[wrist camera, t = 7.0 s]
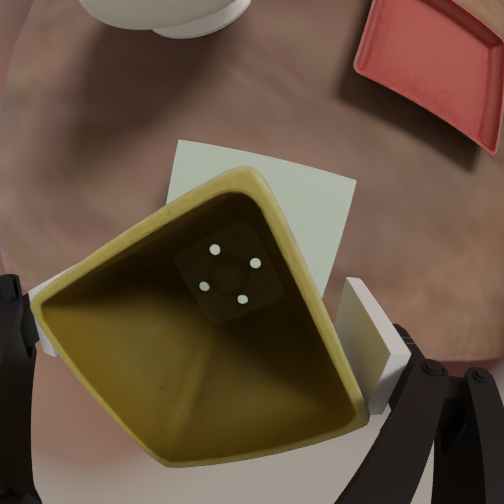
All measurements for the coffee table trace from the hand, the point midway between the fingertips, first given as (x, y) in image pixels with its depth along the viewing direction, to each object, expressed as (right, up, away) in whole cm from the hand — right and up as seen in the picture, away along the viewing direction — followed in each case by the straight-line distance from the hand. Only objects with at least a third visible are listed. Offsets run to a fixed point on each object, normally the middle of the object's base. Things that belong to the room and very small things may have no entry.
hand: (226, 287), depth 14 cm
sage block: (+1, +4, +14) cm, 15 cm away
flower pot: (0, +1, +2) cm, 2 cm away
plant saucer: (+22, +24, +7) cm, 33 cm away
